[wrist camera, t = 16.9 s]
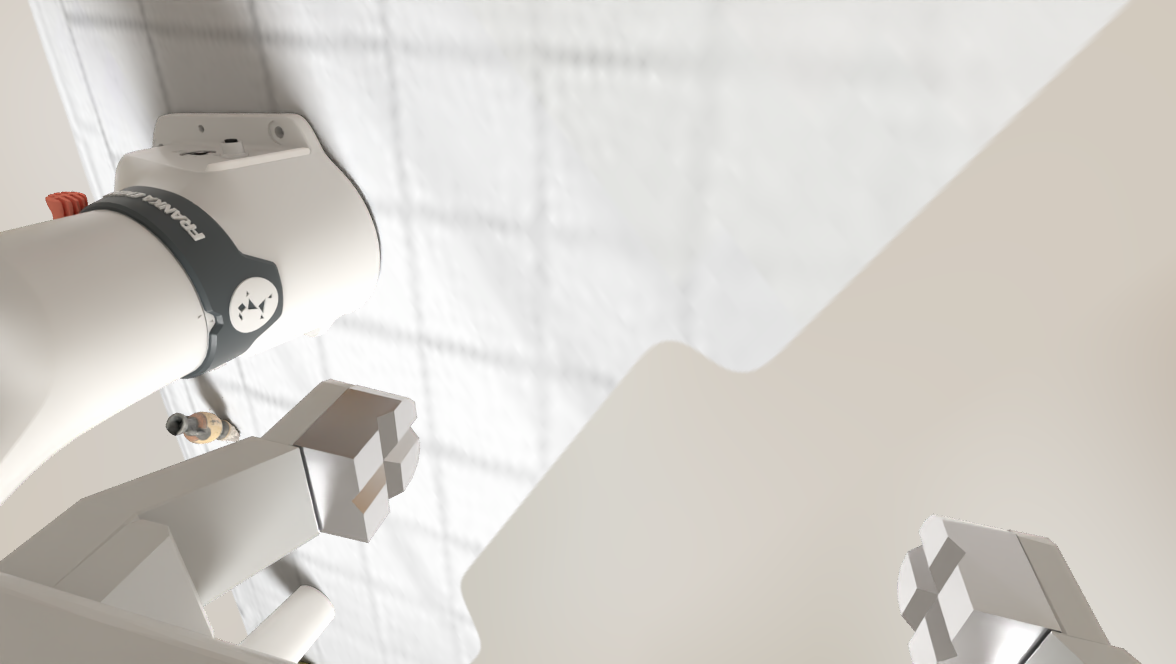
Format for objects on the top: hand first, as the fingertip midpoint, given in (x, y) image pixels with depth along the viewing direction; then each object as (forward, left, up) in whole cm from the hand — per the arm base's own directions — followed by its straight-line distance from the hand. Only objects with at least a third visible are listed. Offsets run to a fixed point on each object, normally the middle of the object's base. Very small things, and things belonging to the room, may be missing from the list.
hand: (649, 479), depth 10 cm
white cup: (-39, -64, -29) cm, 80 cm away
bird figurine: (-48, -38, -29) cm, 68 cm away
